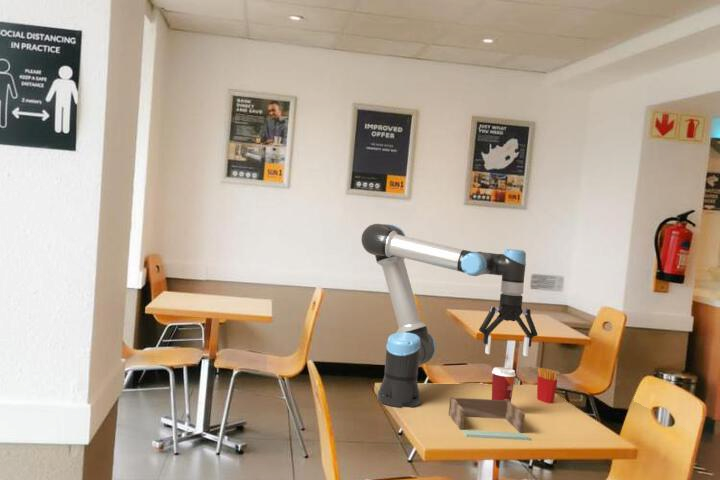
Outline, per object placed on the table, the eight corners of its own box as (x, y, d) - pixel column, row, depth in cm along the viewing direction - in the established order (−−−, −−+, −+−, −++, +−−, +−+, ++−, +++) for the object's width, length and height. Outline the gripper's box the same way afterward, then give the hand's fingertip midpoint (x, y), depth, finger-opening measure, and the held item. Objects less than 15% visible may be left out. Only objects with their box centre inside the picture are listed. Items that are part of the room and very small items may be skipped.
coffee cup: (512, 417, 208) (516, 373, 208) (488, 413, 210) (492, 370, 210) (511, 410, 217) (515, 368, 216) (487, 406, 218) (491, 365, 218)
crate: (448, 418, 201) (450, 397, 201) (507, 421, 203) (509, 400, 203) (459, 433, 187) (461, 410, 187) (522, 436, 189) (524, 414, 189)
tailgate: (460, 429, 187) (466, 434, 181) (522, 433, 189) (529, 437, 183) (460, 433, 187) (466, 438, 181) (522, 437, 189) (529, 441, 183)
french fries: (556, 403, 231) (560, 371, 230) (549, 404, 229) (553, 372, 228) (539, 396, 238) (542, 366, 238) (532, 397, 236) (535, 366, 236)
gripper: (541, 294, 217) (536, 354, 218) (473, 290, 214) (468, 350, 215) (550, 297, 210) (545, 359, 210) (479, 292, 207) (474, 354, 208)
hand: (506, 354), depth 213 cm, fingers open, 13 cm apart
